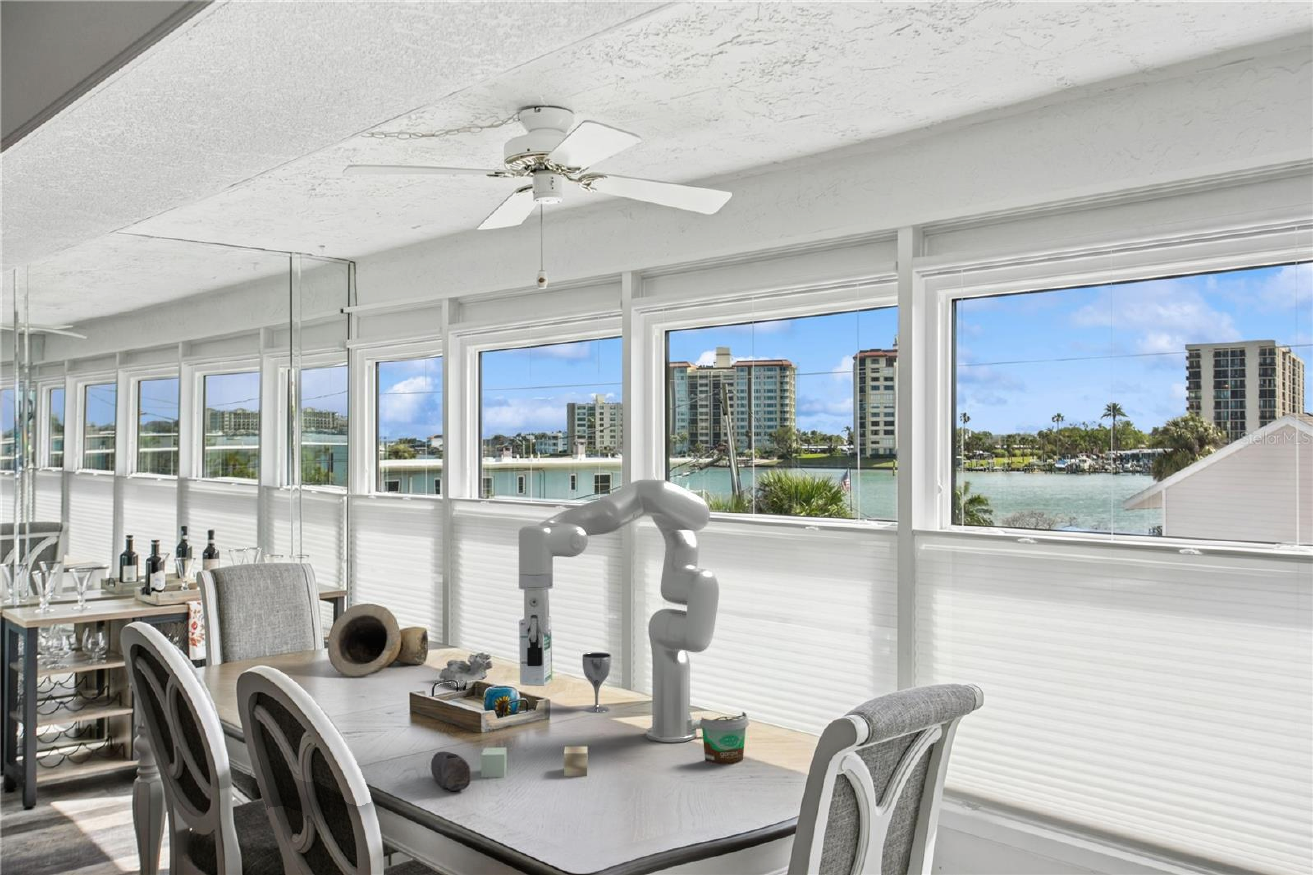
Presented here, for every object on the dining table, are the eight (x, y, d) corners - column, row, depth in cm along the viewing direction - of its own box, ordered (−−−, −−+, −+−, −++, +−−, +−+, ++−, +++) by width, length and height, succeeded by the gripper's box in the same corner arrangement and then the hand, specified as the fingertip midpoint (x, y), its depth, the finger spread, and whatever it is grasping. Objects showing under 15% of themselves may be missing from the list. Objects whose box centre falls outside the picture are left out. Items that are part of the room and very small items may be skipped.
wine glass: (577, 711, 266) (577, 656, 266) (590, 704, 273) (590, 651, 273) (603, 714, 263) (603, 658, 263) (615, 707, 270) (615, 653, 270)
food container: (713, 769, 216) (713, 724, 216) (699, 761, 221) (699, 717, 222) (759, 761, 222) (759, 717, 222) (744, 754, 227) (744, 711, 227)
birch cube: (587, 768, 216) (587, 746, 216) (586, 776, 211) (586, 753, 211) (565, 769, 216) (565, 746, 216) (564, 776, 211) (564, 753, 211)
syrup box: (544, 686, 210) (544, 619, 211) (518, 685, 212) (518, 619, 212) (552, 680, 216) (552, 615, 216) (527, 679, 217) (527, 614, 217)
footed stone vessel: (428, 686, 334) (415, 674, 306) (342, 687, 331) (321, 676, 303) (432, 619, 342) (420, 601, 314) (348, 620, 339) (328, 602, 312)
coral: (498, 685, 297) (498, 653, 297) (459, 692, 288) (459, 659, 288) (469, 676, 309) (469, 645, 310) (431, 683, 300) (431, 650, 301)
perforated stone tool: (423, 777, 210) (423, 745, 210) (446, 773, 213) (446, 741, 213) (448, 797, 198) (449, 763, 198) (473, 793, 200) (473, 759, 201)
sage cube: (506, 770, 215) (506, 747, 215) (504, 777, 210) (504, 754, 210) (484, 770, 215) (484, 748, 215) (481, 777, 210) (481, 754, 210)
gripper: (550, 586, 206) (550, 670, 205) (554, 576, 223) (554, 654, 223) (515, 586, 205) (515, 671, 205) (522, 576, 223) (522, 654, 222)
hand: (535, 661), depth 214 cm, fingers closed on syrup box, 6 cm apart
